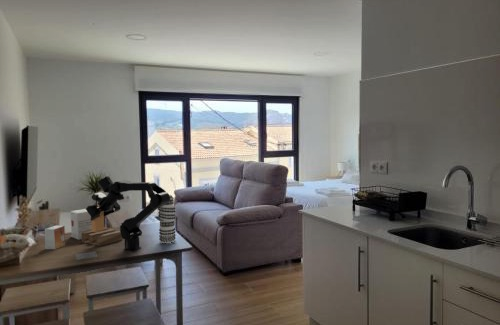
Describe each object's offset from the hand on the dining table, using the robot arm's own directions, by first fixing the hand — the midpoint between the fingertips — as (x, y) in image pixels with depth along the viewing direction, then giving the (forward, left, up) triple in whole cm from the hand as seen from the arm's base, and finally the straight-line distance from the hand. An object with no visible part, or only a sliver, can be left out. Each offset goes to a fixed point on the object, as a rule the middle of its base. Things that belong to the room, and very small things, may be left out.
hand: (95, 218), depth 197 cm
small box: (+16, +11, -14) cm, 24 cm away
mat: (-10, +17, -14) cm, 24 cm away
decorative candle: (-33, -16, -14) cm, 39 cm away
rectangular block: (-1, 0, -6) cm, 6 cm away
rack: (+1, -5, -14) cm, 15 cm away
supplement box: (+18, -9, -14) cm, 24 cm away
